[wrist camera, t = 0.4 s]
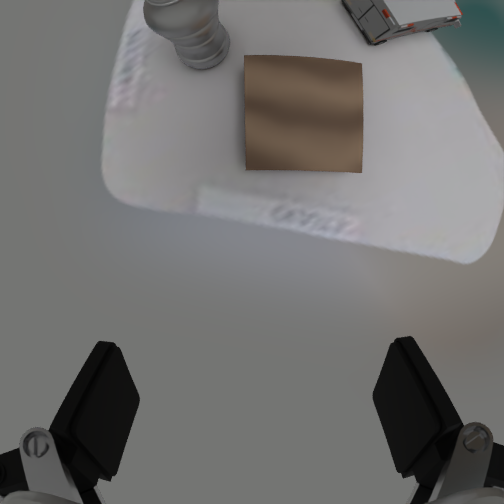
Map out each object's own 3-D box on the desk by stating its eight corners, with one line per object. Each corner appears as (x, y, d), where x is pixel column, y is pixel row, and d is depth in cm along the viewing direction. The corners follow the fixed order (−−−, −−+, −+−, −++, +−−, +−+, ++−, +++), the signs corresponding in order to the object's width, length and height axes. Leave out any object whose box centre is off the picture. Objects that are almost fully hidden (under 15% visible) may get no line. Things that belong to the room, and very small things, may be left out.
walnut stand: (245, 67, 31) (244, 55, 26) (346, 73, 31) (361, 63, 26) (247, 165, 36) (245, 170, 31) (346, 167, 36) (361, 173, 31)
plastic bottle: (174, 66, 31) (103, 13, 13) (192, 23, 29) (143, -55, 10) (220, 77, 32) (186, 20, 13) (238, 34, 29) (225, -50, 11)
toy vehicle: (449, 32, 27) (487, 19, 17) (370, 53, 30) (402, 33, 21) (419, -16, 24) (450, -38, 14) (334, -2, 27) (356, -34, 17)
